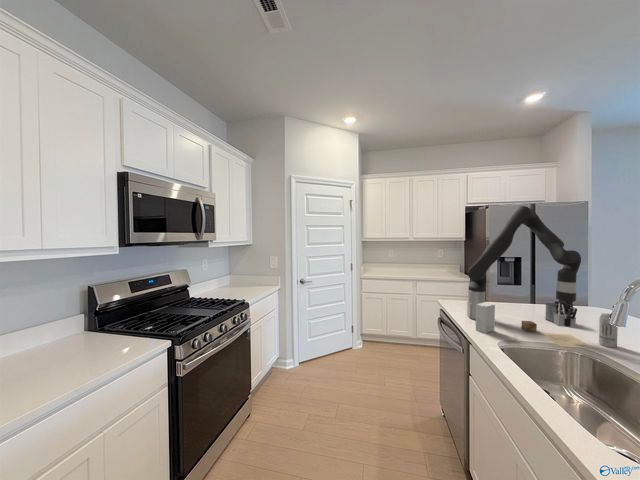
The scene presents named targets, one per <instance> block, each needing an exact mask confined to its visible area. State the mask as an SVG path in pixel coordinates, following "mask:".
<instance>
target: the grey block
mask: <svg viewBox="0 0 640 480" xmlns="http://www.w3.org/2000/svg"><path fill="white" fill-rule="evenodd" d="M567 316H568V315H567ZM576 320H577V317H576V316H575V319H571V325H570V327H569V328H576V326H577V325H576V324H577V323H576V322H577V321H576ZM564 323H565V315H563V314H554V323H553V324H554V325H555V326H558V327H563V328H568V327H567V326H565V325H564Z"/></svg>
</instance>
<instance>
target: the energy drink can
mask: <svg viewBox="0 0 640 480" xmlns="http://www.w3.org/2000/svg"><path fill="white" fill-rule="evenodd" d="M610 314H611V313H604V312H603V313H601V315H600V316H599V317H598V319H599V321H598V324H599V325H598V326H599V327H598V344H600V345H601V346H603V347H605V348H609V349H610V348H611V349H615V348H616V347H618V327H616V326H614V325H611V324H610V323H609V322H608V321H609V317H610Z"/></svg>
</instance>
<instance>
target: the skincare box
mask: <svg viewBox="0 0 640 480" xmlns="http://www.w3.org/2000/svg"><path fill="white" fill-rule="evenodd" d="M495 313H496V304H493V303H489V302H486V301H485V302H484V303H480V304H476V319H475V331H478V332H480V333H482V334H489V333H491V332H495V325H496V324H495V319H496V317H495V315H496V314H495Z"/></svg>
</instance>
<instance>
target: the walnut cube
mask: <svg viewBox="0 0 640 480" xmlns="http://www.w3.org/2000/svg"><path fill="white" fill-rule="evenodd" d="M537 327H538V324H537V323H536V322H534V321H532V320H521V330H522V331H524V332H525V333H535V334H536V333H537V330H538V329H537Z"/></svg>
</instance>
